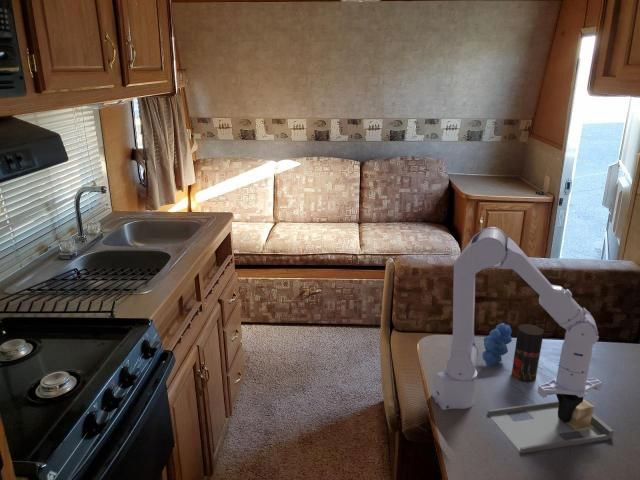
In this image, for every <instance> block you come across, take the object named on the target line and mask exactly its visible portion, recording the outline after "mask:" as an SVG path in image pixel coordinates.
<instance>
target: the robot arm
mask: <svg viewBox="0 0 640 480" xmlns="http://www.w3.org/2000/svg"><path fill="white" fill-rule="evenodd" d="M499 264H500V265H499ZM497 265H499V268H500V269H503V270H504V269H506V270H513V271H514V272H515V273H517V275H518V276H519V277H521V278H522V279H523V280H524V281H525V282H526V283H527V284H528V285H529V286H530V287H531V288H532V289H533V290H534V291H535V292H536V293H537V294H538V295H539V298H538V304H539V305H540V306H541V307H542V308H543V310H545V311H546V313H547V314H549V316H550V317H551V319H553V320H554V322H556V323H557V324H558V325H559V327H561V328H563V329H564V330H565V334H564V339H563V343H562V346H561V352H560V357H559V363H558V368H557V373H556V377H555V378H553V379H551V380H550V381H547V382H545V383H543V384H538V387H537V392H536V393H537V394H538V395H539V396H540V397H542V398H547V397H548V396H551V395H555V396H556V398H557V401H559V407H558V418H559V419H560V420H561V421H563V422H564V423H566V422H570V420H571V417H572V413H573V411H574V409H575V408H576V407H577V406H578V405H579V404H580V403H582V402H583V399H584V398H586V397H587V395H588V392H589V391H591V390H595V391H602V386H603V385H602V384H603V382H602V381H600V380H599V379H598V378H596V377H588V376H589V370H590V366H591V361H592V360H591V359H592V355H593V346H594V345H595V344H597V342H598V341H599V339H600V336H599V331H598V327H597V324H596V320H595V319H594V317H593V315H592V314H591V312H590V311H588V310H587V309H586V308H585V307H582V306H580V304H578V302H577V301H576V300H575V299H574V298H573V294H572V293H573V292H571V290H570V289H568V288H567V289H564V288H563V287H562V286H561V285H556V284H552V283H551V282H550V281H549V280H548V278H546V277H545V275H544V274H542V272H541V270H539V268H538V267H537V266H536V265H535V264H534V262H533V261H531V259H530V258H529V257H528V255H527V254H526V253H525V252H524V251H523V250H522V249H521V248H520V246H519V245H518V244H517V243H516V242H515V241H514V240H513V239H512V238H510V237H509V236H508V237H507V235H506V233H505V232H504V231H503V230H502V229H500V228H498V227H495V226H489V227H485V228H484V229H482V230H481V231H479V232H477V233H476V234H474V235H473V236H472V238H471V239H470V241H469V242H468V243H467V245H466V246H465V247H464V249H463V250H462V251H461V252H460V253H459V255H458V257H457V258H456V259H455V262H454V264H453V283H452V284H453V286H452V287H453V290H452V291H453V293H452V295H453V296H452V298H453V299H452V303H453V305H452V339H451V340H452V341H451V348H450V353H449V357H448V360H447V362H446V364H445V365H446V366H445V369H444V370H442V371H440V372H437V373H435V374H434V376H433V380H432V392H431V396H432V397H433V399H434V402H435V403H436V404H438V406H439V407H440V408H441V410H443V411H445V410H452V409H459V410H461V409H462V410H463V409H470V408H472V406H473V405H474V402H475V401H474V400H475V396H476V395H475V394H476V386H477V378H478V371H477V369H476V363H477V359H478V356H479V348H478V346H477V344H476V342H475V341H476V340H475V303H476V302H475V301H476V299H475V297H476V296H475V294H476V274H478V273H479V272H481V271H483V270H484V269H487V268H491V267H494V266H497Z"/></svg>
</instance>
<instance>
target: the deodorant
mask: <svg viewBox="0 0 640 480" xmlns="http://www.w3.org/2000/svg"><path fill="white" fill-rule="evenodd" d="M544 332H545V331H544V329H543V328H541V327H539V326H537V325H535V324H530V323H523V324H520V325H518V328H517V334H516V335H517V336H516V340H515V341H516V342H515V348H514V355H513V362H512V367H511V368H512V369H511V376H512V377H513V378H514V379H515V380H517V381H520V382H524V383H533V382H535V381H536V380H537V375H538V374H537V373H538V369H539V362H540V356H541V350H542V345H543V340H544Z"/></svg>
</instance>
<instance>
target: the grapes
mask: <svg viewBox="0 0 640 480" xmlns="http://www.w3.org/2000/svg"><path fill="white" fill-rule="evenodd" d="M511 334H512V328H511V326H510V325H509V324H506V323H504V322H501V323H499V324H497V325H496V326H495V328H493V329H492V330H491V331H489V335H487V336H484V338H483V346H484V347H483V348H484V349H485V350H484V351H483V352H482V353H481V354H482V357H481V358H482V360H483V361H484V363H485V365H486V366H487V367H493V366H494V365H495V364H496V365H497V364H499V363H501V362H502V360H503V359H502V356H504V355H506V354H508V352H509V350H508V346H507V345H508V344H511V342H512V340H513V339H512V336H511Z"/></svg>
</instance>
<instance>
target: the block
mask: <svg viewBox="0 0 640 480" xmlns="http://www.w3.org/2000/svg"><path fill="white" fill-rule="evenodd" d="M594 408H595V406H594V405H593V404H592V403H590V402H588V401H587V400H585V399H584V398H583V402H582V403H580V404H579V405H578V406H577V407H576V408H575V409H574V411H573V413H572V417H571V420H570V422H566V423H567V424H568V425H569V426H571V427H572V428H573V429H579V428H583V427H587V426H590V423H591V418H592V414H594V410H595V409H594Z"/></svg>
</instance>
